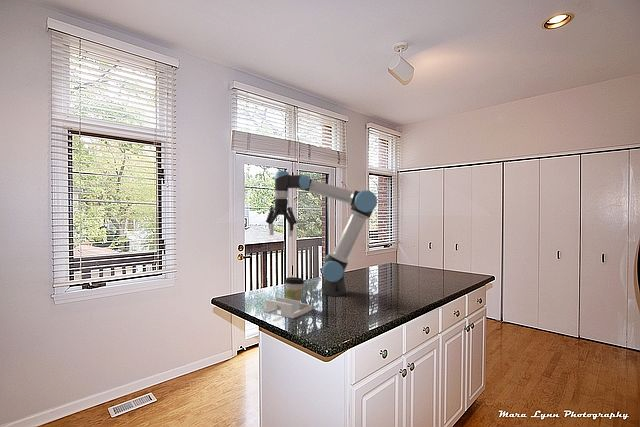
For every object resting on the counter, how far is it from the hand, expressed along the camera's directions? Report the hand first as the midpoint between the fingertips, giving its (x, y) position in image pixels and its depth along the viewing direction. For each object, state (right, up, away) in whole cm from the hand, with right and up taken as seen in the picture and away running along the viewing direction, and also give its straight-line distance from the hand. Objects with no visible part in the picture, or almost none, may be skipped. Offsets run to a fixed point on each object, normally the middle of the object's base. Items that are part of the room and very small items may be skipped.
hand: (280, 235), depth 194 cm
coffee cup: (+9, -35, -23) cm, 43 cm away
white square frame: (+7, -35, -26) cm, 44 cm away
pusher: (+3, -35, -33) cm, 48 cm away
